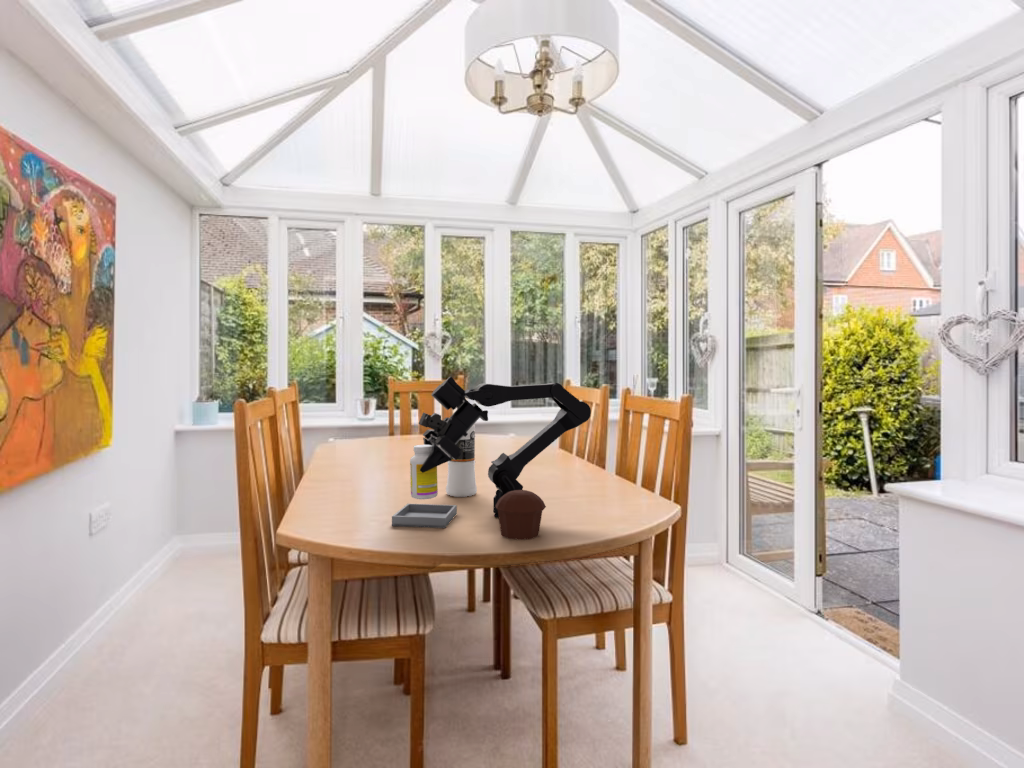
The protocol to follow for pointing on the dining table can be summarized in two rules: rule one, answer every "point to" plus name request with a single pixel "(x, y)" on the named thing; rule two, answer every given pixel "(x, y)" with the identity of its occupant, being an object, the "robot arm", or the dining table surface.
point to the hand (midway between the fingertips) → (418, 469)
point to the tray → (424, 515)
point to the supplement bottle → (422, 474)
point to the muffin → (520, 514)
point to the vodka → (463, 467)
